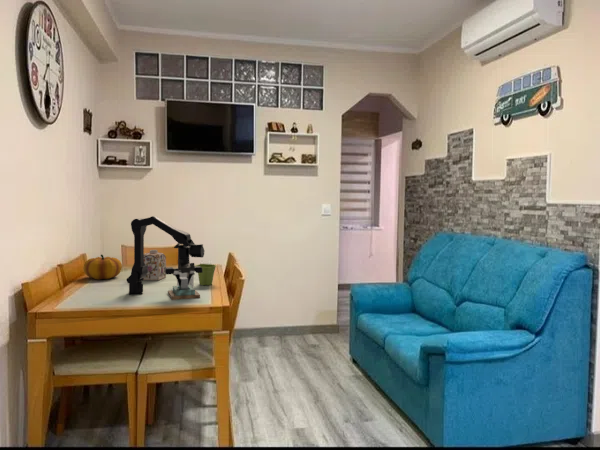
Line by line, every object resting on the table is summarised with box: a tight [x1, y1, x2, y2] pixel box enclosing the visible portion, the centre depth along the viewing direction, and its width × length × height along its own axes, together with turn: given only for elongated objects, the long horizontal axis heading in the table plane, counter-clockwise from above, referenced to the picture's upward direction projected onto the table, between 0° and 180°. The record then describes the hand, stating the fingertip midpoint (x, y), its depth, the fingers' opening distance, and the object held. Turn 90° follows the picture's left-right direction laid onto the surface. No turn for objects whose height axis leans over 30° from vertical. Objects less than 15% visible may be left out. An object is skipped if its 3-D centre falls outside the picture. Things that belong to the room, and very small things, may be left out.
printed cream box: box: [176, 272, 195, 288], centre depth 256 cm, size 10×4×12 cm, turn 60°
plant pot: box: [195, 263, 217, 286], centre depth 266 cm, size 12×12×11 cm
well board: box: [167, 285, 201, 301], centre depth 236 cm, size 14×16×4 cm
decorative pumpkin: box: [82, 254, 123, 281], centre depth 281 cm, size 20×22×15 cm
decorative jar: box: [143, 249, 167, 281], centre depth 281 cm, size 12×12×18 cm
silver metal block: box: [179, 277, 188, 290], centre depth 236 cm, size 4×7×6 cm, turn 23°
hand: (183, 286), depth 236 cm, fingers closed on silver metal block, 3 cm apart
